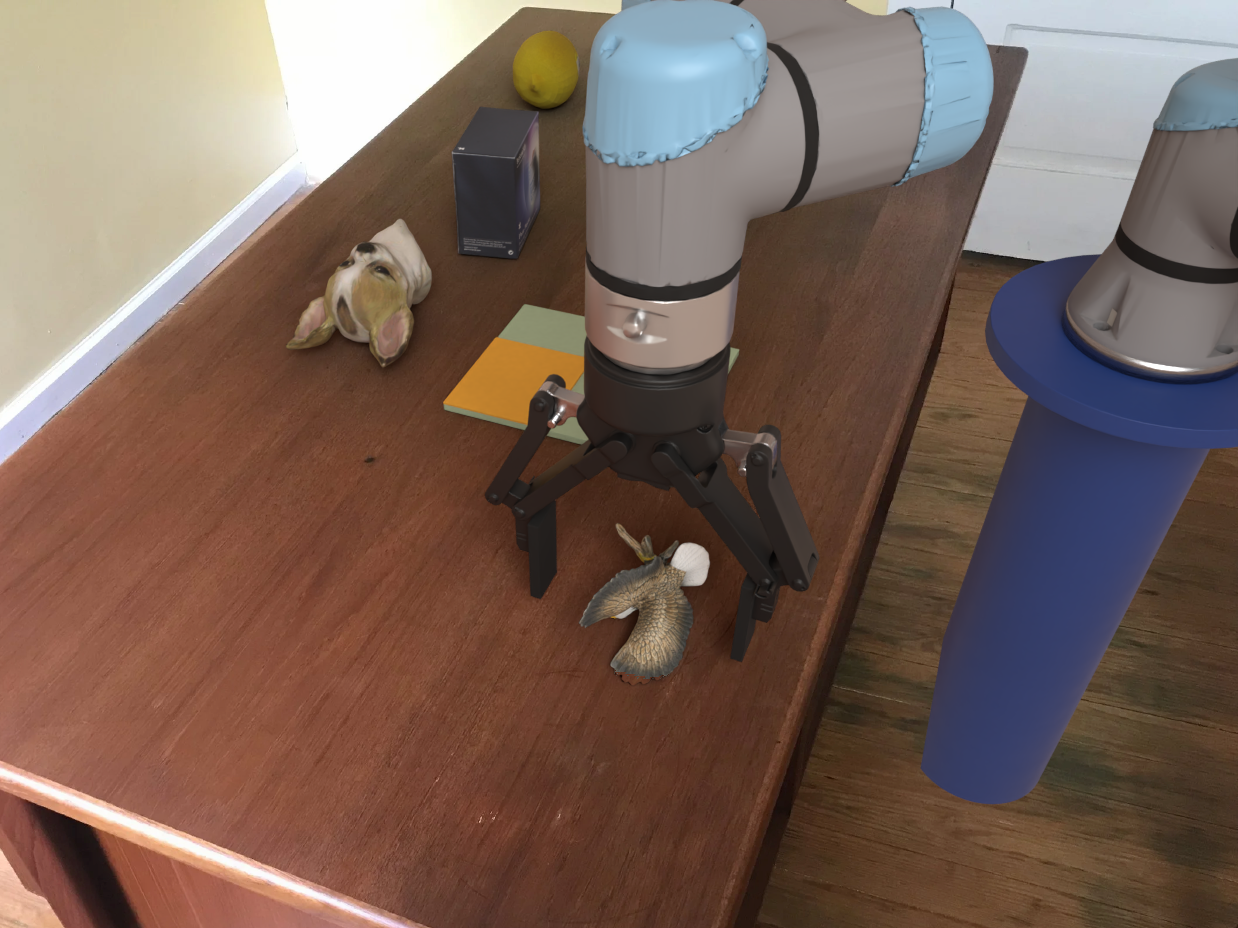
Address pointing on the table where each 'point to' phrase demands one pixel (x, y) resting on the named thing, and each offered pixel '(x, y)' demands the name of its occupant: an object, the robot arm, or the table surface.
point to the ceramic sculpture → (371, 296)
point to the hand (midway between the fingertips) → (639, 614)
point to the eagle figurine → (651, 605)
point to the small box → (497, 182)
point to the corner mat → (527, 370)
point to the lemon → (546, 69)
